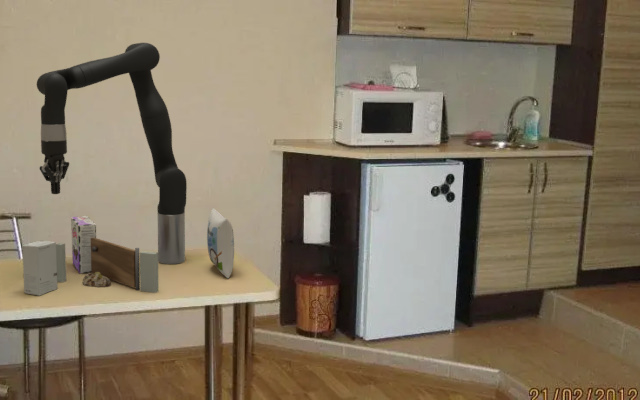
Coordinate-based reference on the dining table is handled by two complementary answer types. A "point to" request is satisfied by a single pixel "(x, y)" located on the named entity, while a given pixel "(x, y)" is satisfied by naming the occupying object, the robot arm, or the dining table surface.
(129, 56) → the robot arm
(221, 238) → the pouch
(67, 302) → the dining table surface
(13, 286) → the dining table surface
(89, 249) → the candy box
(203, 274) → the dining table surface
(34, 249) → the skincare box
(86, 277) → the mineral rock
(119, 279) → the door
